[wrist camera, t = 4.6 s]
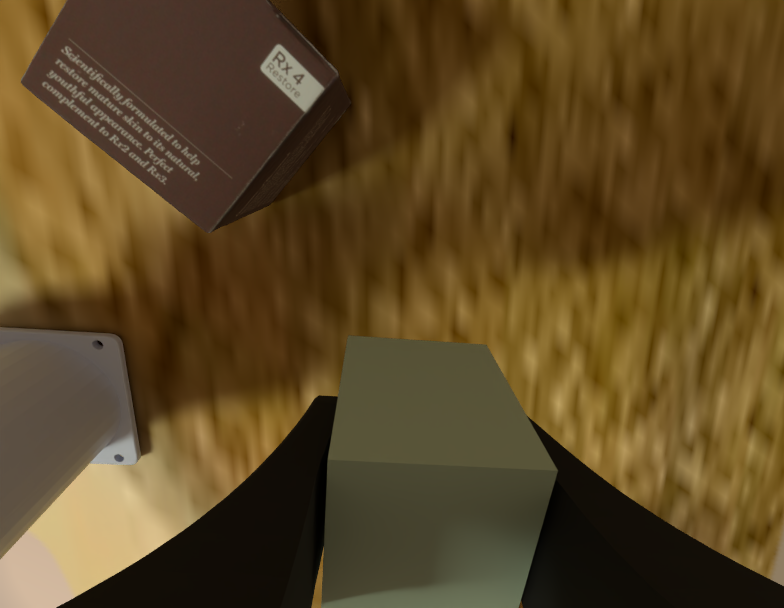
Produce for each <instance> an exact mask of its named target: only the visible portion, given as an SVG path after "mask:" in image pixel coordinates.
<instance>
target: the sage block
mask: <svg viewBox="0 0 784 608" xmlns="http://www.w3.org/2000/svg"><path fill="white" fill-rule="evenodd" d="M557 472H558V470H557V468H556V467H555V465H554V463H553V461H552V459H551V458H550V456H549V454H548V452H547V451H546V449H545V447H544V445H543V444H542V442H541V440H540V438H539V437H538V435H537V433H536V431H535V430H534V428H533V426H532V424H531V423H530V421H529V419H528V417H527V415H526V414H525V412H524V410H523V408H522V407H521V405H520V403H519V401H518V400H517V398H516V396H515V394H514V393H513V391H512V389H511V387H510V386H509V384H508V382H507V380H506V378H505V377H504V375H503V373H502V371H501V370H500V368H499V366H498V364H497V363H496V361H495V359H494V357H493V356H492V354H491V352H490V350H489V349H488V347H487V345H482V344H467V343H452V342H437V341H422V340H407V339H392V338H377V337H362V336H348V339H347V345H346V351H345V357H344V363H343V369H342V376H341V382H340V388H339V394H338V400H337V406H336V412H335V418H334V424H333V430H332V436H331V443H330V449H329V455H328V464H327V487H326V511H325V534H324V558H323V581H322V605H321V608H519V605H520V601H521V598H522V594H523V591H524V587H525V584H526V580H527V577H528V573H529V570H530V566H531V563H532V559H533V556H534V552H535V549H536V546H537V542H538V539H539V535H540V532H541V528H542V525H543V521H544V518H545V514H546V511H547V507H548V504H549V500H550V497H551V493H552V490H553V486H554V483H555V479H556V476H557Z"/></svg>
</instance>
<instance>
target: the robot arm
mask: <svg viewBox="0 0 784 608" xmlns="http://www.w3.org/2000/svg"><path fill="white" fill-rule="evenodd" d="M97 340H98V341H100V342H102V344H103V346H101V345H100V344H98V342H97ZM337 400H338V397H336V396H318V397H316V398H315V399H314V400H313V402H312V404H311V405H310V407H309V408H308V410H307V411H306V413H305V414H304V415H303V417H302V418H301V419H300V421H299V422H298V423H297V425H296V426H295V427H294V428H293V429H292V431H291V432H290V433H289V434H288V436H287V437H286V438H285V439H284V440H283V442H282V443H281V444H280V445H279V446H278V447H277V448H276V449H275V450H274V452H273V453H272V454H271V455H270V456H269V457H268V458H267V459H266V460H265V461H264V462H263V463H262V464H261V465H260V466H259V467H258V468H257V469H256V470H255V471H254V472H253V473H252V474H251V475H250V476H249V477H248V478H247V479H246V480H245V481H244V482H243V483H242V484H241V485H239V486H238V487H237V488H236V489H235V490H234V491H233V492H231V493H230V494H229V495H228V496H227V497H226V498H225V499H223V500H222V501H221V502H220V503H218V504H217V505H216V506H215V507H213V508H212V509H211V510H210V511H208V512H207V513H206V514H205V515H203V516H202V517H201V518H200V519H198V520H197V521H196V522H194V523H193V524H192V525H190V526H189V527H188V528H186V529H185V530H183V531H182V532H181V533H179V534H178V535H176V536H175V537H173V538H172V539H170V540H169V541H167V542H166V543H164V544H163V545H161V546H160V547H158V548H157V549H156V550H154V551H153V552H151V553H150V554H148V555H146V556H145V557H143V558H142V559H140V560H139V561H137V562H135V563H134V564H132V565H130V566H129V567H127V568H126V569H124V570H122V571H121V572H119V573H117V574H115V575H114V576H112V577H110V578H108V579H107V580H105V581H103V582H101V583H100V584H98V585H96V586H94V587H92V588H91V589H89V590H87V591H85V592H84V593H82V594H80V595H78V596H77V597H75V598H73V599H71V600H70V601H68V602H66V603H64V604H62V605H60V606H58V607H57V608H311V606H312V600H313V595H314V589H315V584H316V579H317V575H318V570H319V566H320V561H321V556H322V552H323V547H324V534H325V511H326V487H327V464H328V455H329V449H330V443H331V436H332V430H333V424H334V418H335V412H336V406H337ZM527 417H528V416H527ZM528 419H529V421H530V423H531V424H532V426H533V428H534V430H535V431H536V433H537V435H538V437H539V438H540V440H541V442H542V444H543V445H544V447H545V449H546V451H547V452H548V454H549V456H550V458H551V459H552V461H553V463H554V465H555V467H556V468H557V470H558V472H557V476H556V479H555V483H554V486H553V490H552V493H551V497H550V500H549V504H548V507H547V511H546V514H545V518H544V521H543V525H542V528H541V532H540V535H539V539H538V542H537V546H536V549H535V552H534V556H533V559H532V563H531V566H530V570H529V573H528V577H527V580H526V584H525V587H524V591H523V594H522V598H521V601H522V605H523V608H784V586H782V585H780V584H778V583H776V582H774V581H772V580H770V579H768V578H766V577H764V576H762V575H760V574H758V573H756V572H754V571H752V570H750V569H748V568H746V567H744V566H742V565H741V564H739V563H737V562H735V561H733V560H731V559H729V558H728V557H726V556H724V555H722V554H720V553H718V552H716V551H715V550H713V549H711V548H709V547H708V546H706V545H704V544H702V543H701V542H699V541H697V540H696V539H694V538H692V537H690V536H689V535H687V534H685V533H683V532H682V531H680V530H678V529H677V528H675V527H673V526H672V525H670V524H669V523H667V522H665V521H664V520H662V519H661V518H659V517H657V516H656V515H654V514H653V513H651V512H650V511H648V510H647V509H645V508H644V507H642V506H641V505H639V504H638V503H636V502H635V501H633V500H632V499H630V498H629V497H627V496H626V495H625V494H623V493H622V492H620V491H619V490H618V489H616V488H615V487H613V486H612V485H611V484H609V483H608V482H607V481H605V480H604V479H603V478H602V477H600V476H599V475H598V474H596V473H595V472H594V471H592V470H591V469H590V468H588V467H587V466H586V465H585V464H583V463H582V462H581V461H580V460H578V459H577V458H576V457H575V456H574V455H572V454H571V453H570V452H569V451H568V450H566V449H565V448H564V447H563V446H562V445H560V444H559V443H558V442H557V441H556V440H554V439H553V438H552V437H551V436H550V435H549V434H548V433H546V432H545V431H544V430H543V429H542V428H541V427H539V426H538V425H537V424H536V423H535V422H534V421H532V420H531V419H530V418H529V417H528ZM120 455H122V456H123V457H122V456H120ZM140 458H141V452H140V446H139V440H138V434H137V428H136V421H135V415H134V409H133V403H132V397H131V391H130V385H129V379H128V373H127V367H126V361H125V355H124V349H123V343H122V340H121V339H120V338H119V337H118V336H117V335H115V334H110V333H93V332H76V331H59V330H41V329H24V328H7V327H0V559H1V558H2V557H3V556H4V555H5V554H6V553H7V552H8V550H9V549H10V548H11V547H12V546H13V545H14V544H15V543H16V542H17V541H18V540H19V539H20V537H22V535H23V534H24V533H25V532H26V531H27V530H28V529H29V528H30V527H31V526H32V525H33V524H34V523H35V522H36V520H37V519H38V518H39V517H40V516H41V515H42V514H43V513H44V512H45V511H46V510H47V509H48V508H49V506H50V505H51V504H52V503H53V502H54V501H55V500H56V499H57V498H58V497H59V496H60V495H61V494H62V493H63V491H64V490H65V489H66V488H67V487H68V486H69V485H70V484H71V483H72V482H73V481H74V480H75V479H76V477H77V476H78V475H79V474H80V473H81V472H82V471H83V470H84V469H85V468H86V467H87V466H88V465H89V464H90V463H92V464H117V465H134V464H136V463H137V462H138V460H139V459H140Z"/></svg>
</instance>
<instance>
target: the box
mask: <svg viewBox="0 0 784 608" xmlns="http://www.w3.org/2000/svg"><path fill="white" fill-rule="evenodd" d="M21 83H22V85H24V86H25V87H26V88H27V89H28V90H29V91H31V92H32V93H33V94H34V95H35V96H36V97H37V98H39V99H40V100H41V101H42V102H44V103H45V104H46V105H47V106H49V107H50V108H51V109H52V110H54V111H55V112H56V113H57V114H58V115H60V116H61V117H62V118H63V119H64V120H66V121H67V122H68V123H70V124H71V125H72V126H73V127H74V128H76V129H77V130H78V131H79V132H81V133H82V134H83V135H84V136H86V137H87V138H88V139H89V140H91V141H92V142H93V143H95V144H96V145H97V146H98V147H100V148H101V149H102V150H103V151H105V152H106V153H107V154H108V155H109V156H111V157H112V158H113V159H115V160H116V161H117V162H118V163H120V164H121V165H122V166H123V167H125V168H126V169H127V170H128V171H129V172H131V173H132V174H133V175H134V176H136V177H137V178H138V179H140V180H141V181H142V182H143V183H145V184H146V185H147V186H149V187H150V188H151V189H153V190H154V191H155V192H156V193H157V194H159V195H160V196H161V197H162V198H163V199H165V200H166V201H167V202H168V203H170V204H171V205H172V206H174V207H175V208H176V209H177V210H178V211H179V212H181V213H183V214H184V215H185V216H186V217H187V218H189V219H190V220H191V221H192V222H194V223H195V224H196V225H198V226H199V227H200V228H201V229H203V230H204V231H205V232H207V233H211V232H213V231H214V230H216V229H218V228H220V227H222V226H225V225H228V224H230V223H232V222H234V221H236V220H238V219H240V218H242V217H244V216H247V215H249V214H251V213H254V212H256V211H258V210H260V209H262V208H264V207H267V206H269V205H270V204H271V203H272V202H273V200H274V199H275V198H276V197H277V196H278V194H279V193H280V192H281V191H282V190H283V188H284V187H285V186H286V184H287V183H288V182H289V181H290V179H291V178H292V177H293V176H294V174H295V173H296V172H297V170H298V169H299V168H300V167H301V166H302V164H303V163H304V162H305V161H306V159H307V158H308V157H309V156H310V154H311V153H312V152H313V151H314V149H315V148H316V147H317V146H318V144H319V143H320V142H321V141H322V139H323V138H324V137H325V136H326V134H327V133H328V132H329V131H330V129H331V128H332V127H333V125H334V124H335V123H336V122H337V121H338V119H339V118H340V117H341V116H342V114H343V113H344V112H345V111H346V109H347V108H348V107H349V106H350V104H351V101H350V99H349V97H348V95H347V93H346V91H345V88H344V86H343V84H342V82H341V79H340V76H339V72H338V70H337V69H336V68H335V67H334V66H333V65H332V64H331V63H330V62H328V61H327V59H326V58H325V57H324V56H323V55H322V54H321V53H320V52H319V51H318V50H317V49H316V48H315V46H314V45H313V44H312V43H311V42H310V41H309V40H308V39H306V38H305V37H304V36H303V35H302V34H301V33H300V32H299V31H298V30H297V28H296V27H295V26H294V25H293V24H292V23H291V22H290V21H289V20H288V19H287V18H286V17H285V16H284V15H283V14H282V13H281V12H280V11H279V10H278V9H277V8H276V7H275V6H274V5H273V4H272V3H271V2H270V1H269V0H67V1H66V3H65V5H64V6H63V8H62V10H61V11H60V13H59V15H58V17H57V18H56V20H55V22H54V24H53V25H52V27H51V28H50V30H49V32H48V34H47V35H46V37H45V39H44V41H43V43H42V44H41V46H40V48H39V50H38V51H37V53H36V54H35V56H34V58H33V60H32V62H31V63H30V65H29V67H28V69H27V71H26V72H25V74H24V76H23V77H22V79H21Z"/></svg>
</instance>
